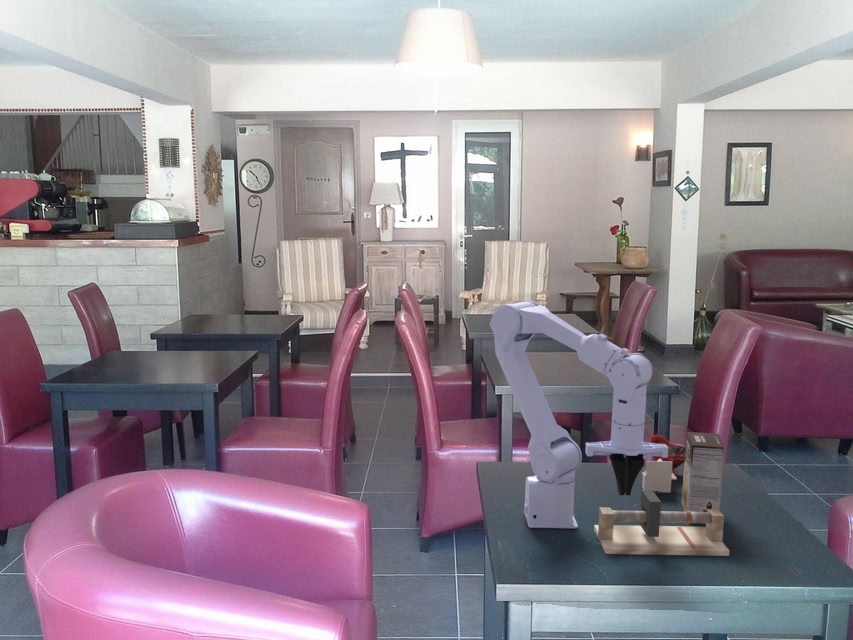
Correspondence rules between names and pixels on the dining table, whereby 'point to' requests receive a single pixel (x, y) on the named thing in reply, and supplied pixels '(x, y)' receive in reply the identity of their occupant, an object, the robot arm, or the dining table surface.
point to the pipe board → (662, 533)
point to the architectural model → (658, 476)
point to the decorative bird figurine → (670, 451)
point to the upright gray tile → (651, 513)
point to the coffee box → (702, 472)
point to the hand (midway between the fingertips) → (624, 493)
